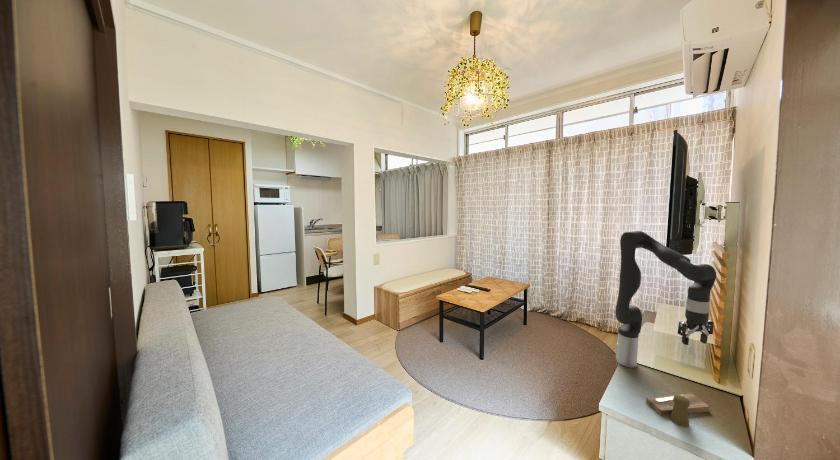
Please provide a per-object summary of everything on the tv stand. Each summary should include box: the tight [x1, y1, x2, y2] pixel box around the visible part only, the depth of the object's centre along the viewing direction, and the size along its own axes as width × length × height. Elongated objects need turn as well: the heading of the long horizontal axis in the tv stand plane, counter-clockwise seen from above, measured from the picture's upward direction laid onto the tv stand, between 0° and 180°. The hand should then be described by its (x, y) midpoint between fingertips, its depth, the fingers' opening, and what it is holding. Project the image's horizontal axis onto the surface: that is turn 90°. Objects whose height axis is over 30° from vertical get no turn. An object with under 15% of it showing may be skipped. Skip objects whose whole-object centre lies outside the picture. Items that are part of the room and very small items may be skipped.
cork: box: [669, 394, 690, 428], centre depth 121 cm, size 6×6×11 cm
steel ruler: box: [655, 394, 685, 402], centre depth 131 cm, size 2×14×1 cm, turn 97°
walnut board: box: [645, 393, 710, 417], centre depth 129 cm, size 8×22×3 cm, turn 93°
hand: (694, 343), depth 129 cm, fingers open, 8 cm apart
